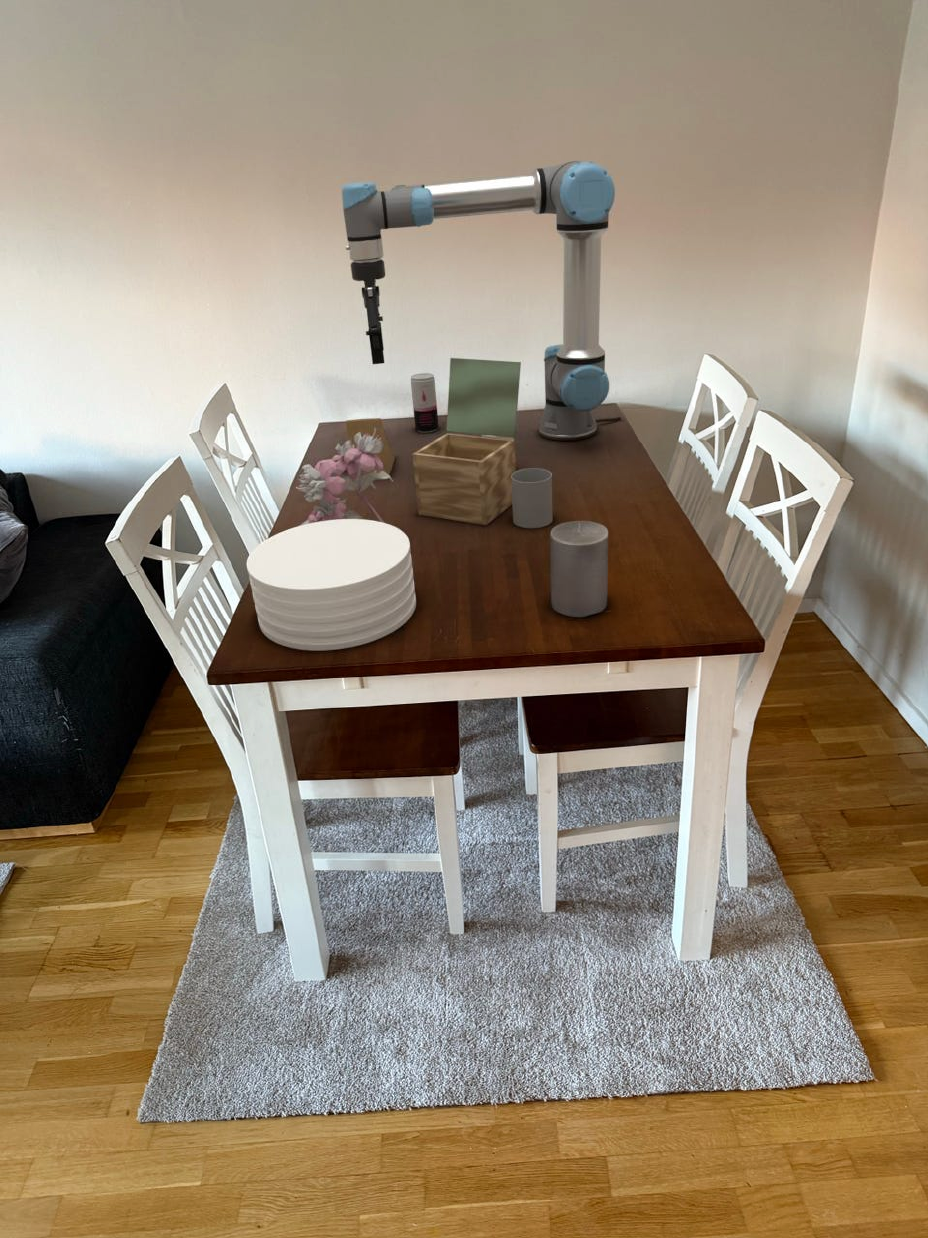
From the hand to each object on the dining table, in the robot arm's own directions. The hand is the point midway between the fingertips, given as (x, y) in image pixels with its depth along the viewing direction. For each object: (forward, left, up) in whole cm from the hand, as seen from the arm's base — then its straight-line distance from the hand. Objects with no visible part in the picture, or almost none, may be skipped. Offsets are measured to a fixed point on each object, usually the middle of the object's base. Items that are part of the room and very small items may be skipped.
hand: (378, 356), depth 204 cm
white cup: (-26, +9, -28) cm, 39 cm away
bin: (-16, +30, -28) cm, 44 cm away
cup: (-29, +41, -28) cm, 57 cm away
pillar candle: (-30, +79, -28) cm, 89 cm away
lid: (-21, +23, -6) cm, 32 cm away
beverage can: (-11, -30, -28) cm, 42 cm away
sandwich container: (+4, -2, -28) cm, 28 cm away
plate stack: (+12, +71, -28) cm, 78 cm away
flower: (+12, +42, -28) cm, 52 cm away
